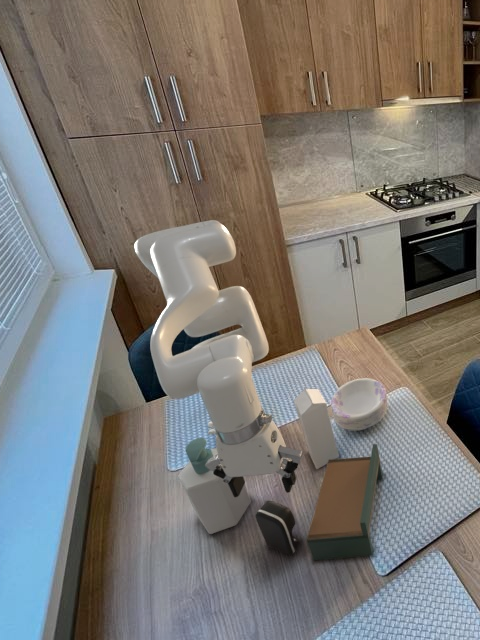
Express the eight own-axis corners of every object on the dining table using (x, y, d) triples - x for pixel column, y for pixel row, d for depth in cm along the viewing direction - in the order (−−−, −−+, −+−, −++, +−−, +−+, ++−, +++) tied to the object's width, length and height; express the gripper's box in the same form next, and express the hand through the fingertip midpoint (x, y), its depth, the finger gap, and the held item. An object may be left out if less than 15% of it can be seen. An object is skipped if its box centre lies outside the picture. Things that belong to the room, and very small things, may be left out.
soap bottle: (196, 540, 87) (160, 472, 77) (204, 501, 95) (171, 435, 85) (249, 521, 90) (220, 453, 81) (252, 485, 98) (226, 420, 88)
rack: (313, 560, 83) (302, 527, 78) (333, 479, 99) (325, 447, 94) (372, 555, 83) (365, 522, 78) (382, 475, 99) (377, 443, 95)
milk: (316, 470, 101) (297, 405, 92) (308, 453, 106) (289, 390, 96) (340, 456, 104) (323, 393, 95) (331, 441, 109) (315, 378, 99)
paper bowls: (400, 414, 117) (397, 393, 113) (355, 448, 106) (351, 427, 103) (368, 389, 126) (364, 369, 122) (324, 419, 116) (319, 398, 112)
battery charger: (304, 539, 86) (293, 505, 81) (292, 557, 83) (279, 524, 78) (278, 528, 89) (266, 494, 84) (265, 546, 85) (251, 512, 80)
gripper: (297, 403, 74) (315, 466, 82) (201, 410, 74) (228, 474, 81) (283, 436, 68) (305, 502, 75) (178, 445, 67) (209, 511, 74)
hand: (265, 487), depth 78 cm, fingers open, 9 cm apart
